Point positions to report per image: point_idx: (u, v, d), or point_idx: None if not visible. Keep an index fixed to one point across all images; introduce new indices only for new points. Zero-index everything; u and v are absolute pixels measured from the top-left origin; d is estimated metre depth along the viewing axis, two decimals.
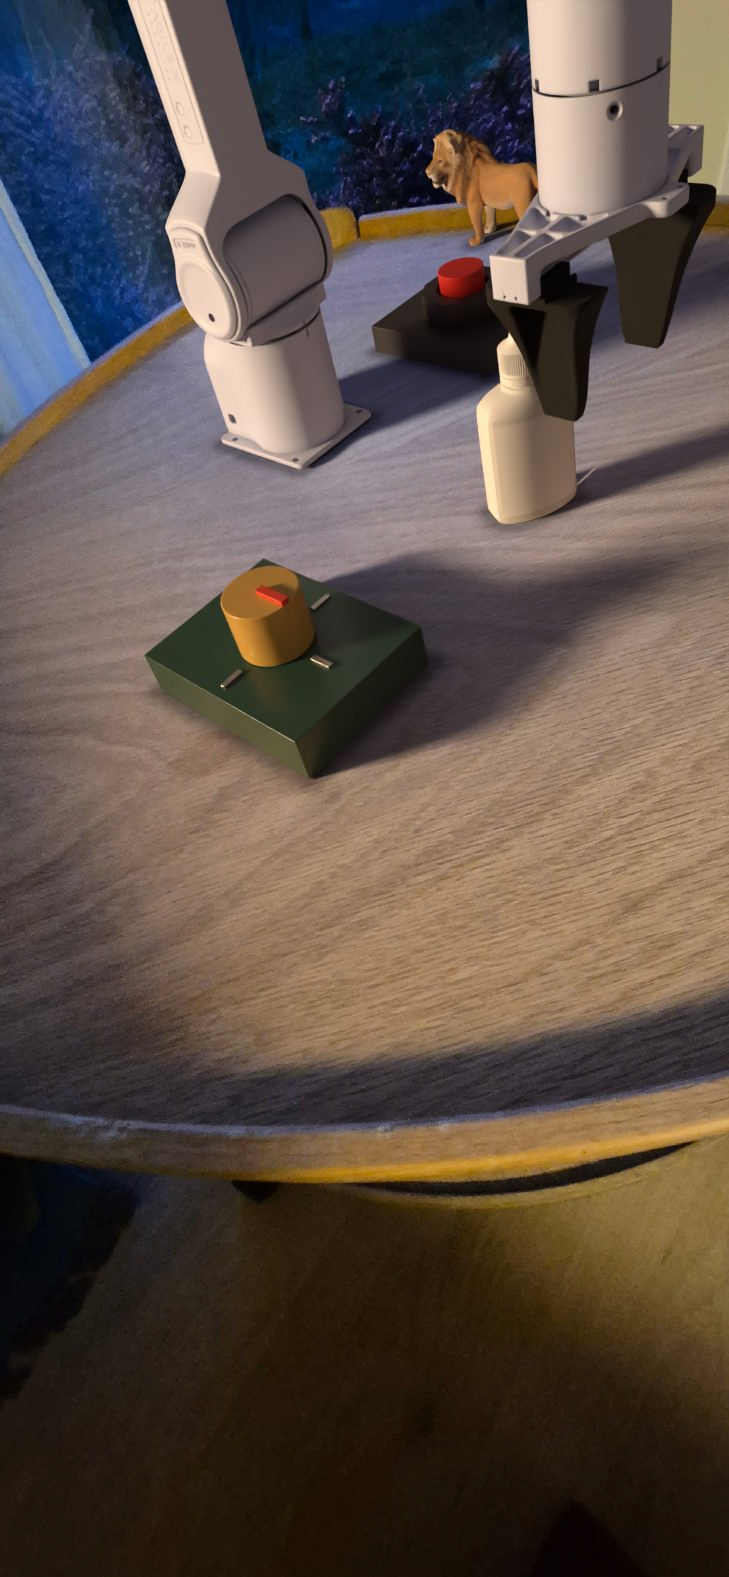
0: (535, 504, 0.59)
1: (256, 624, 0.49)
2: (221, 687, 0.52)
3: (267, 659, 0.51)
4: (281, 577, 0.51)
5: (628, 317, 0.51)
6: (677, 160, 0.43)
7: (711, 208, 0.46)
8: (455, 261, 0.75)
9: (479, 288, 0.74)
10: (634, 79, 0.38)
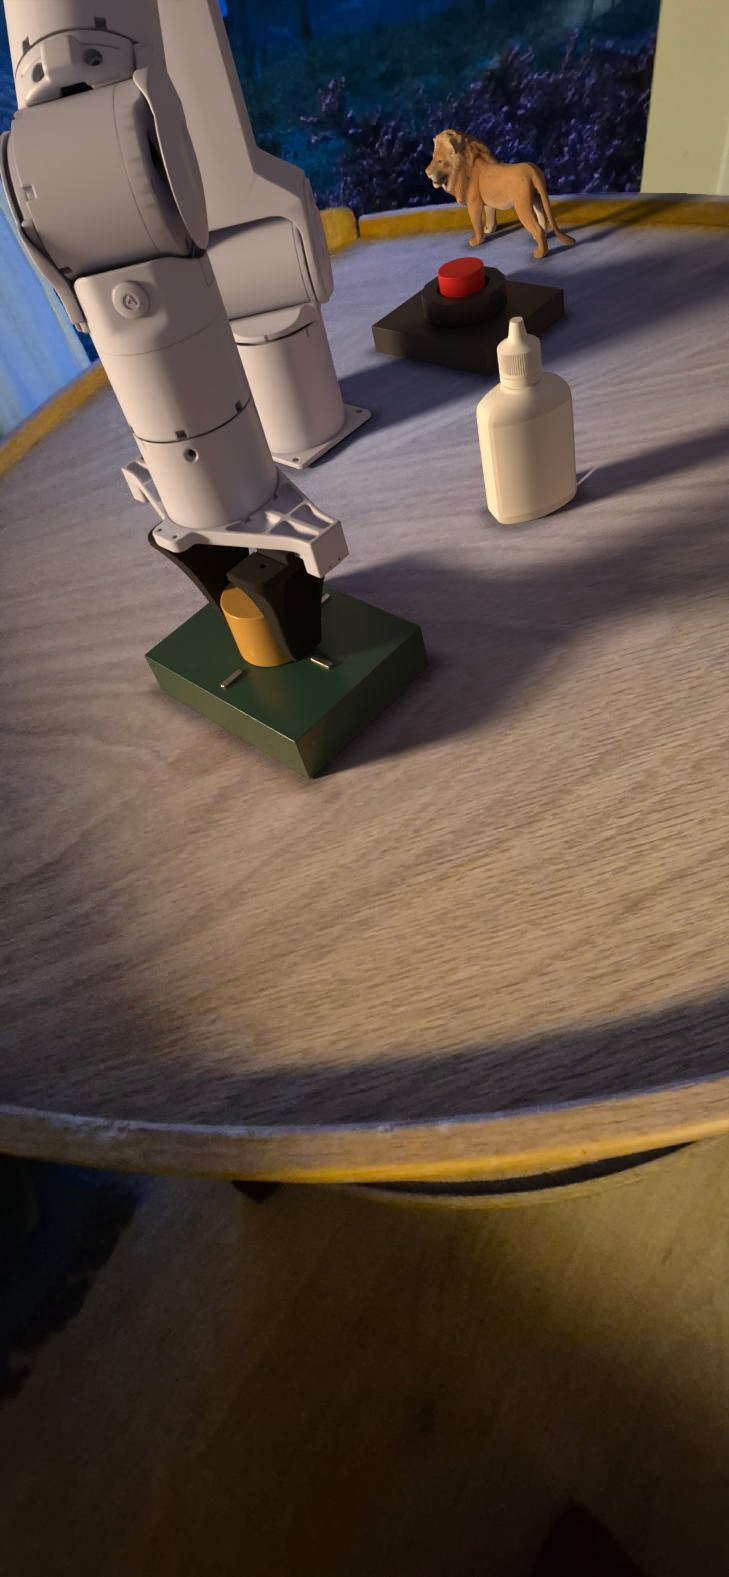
0: (535, 504, 0.59)
1: (256, 624, 0.49)
2: (221, 687, 0.52)
3: (267, 659, 0.51)
4: None
5: None
6: (235, 532, 0.43)
7: (257, 595, 0.45)
8: (455, 261, 0.75)
9: (479, 288, 0.74)
10: (155, 439, 0.41)
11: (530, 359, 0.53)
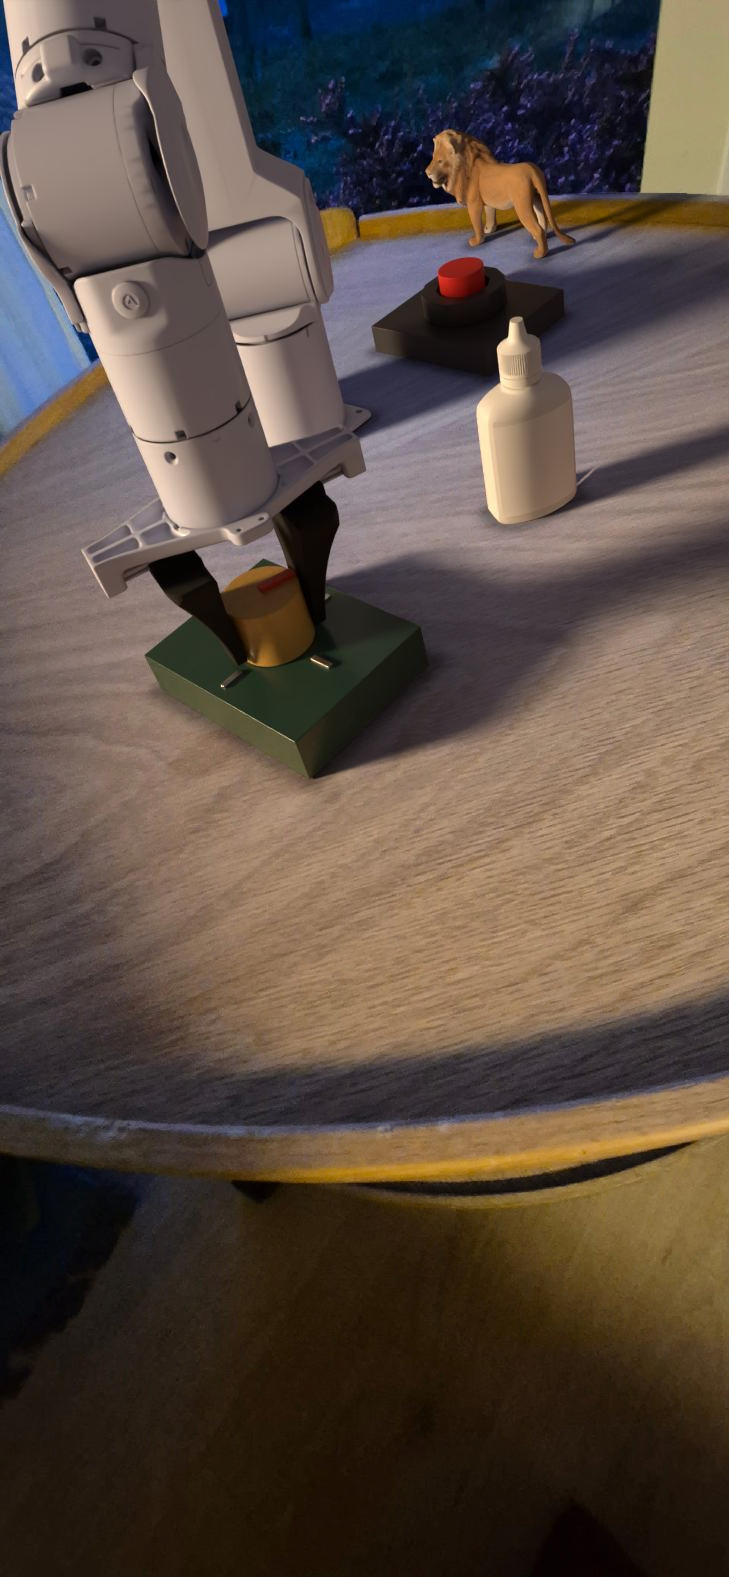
0: (535, 504, 0.59)
1: (297, 601, 0.50)
2: (221, 687, 0.52)
3: (307, 638, 0.52)
4: (254, 576, 0.51)
5: None
6: (295, 480, 0.45)
7: (332, 527, 0.47)
8: (455, 261, 0.75)
9: (479, 288, 0.74)
10: (155, 439, 0.41)
11: (530, 359, 0.53)
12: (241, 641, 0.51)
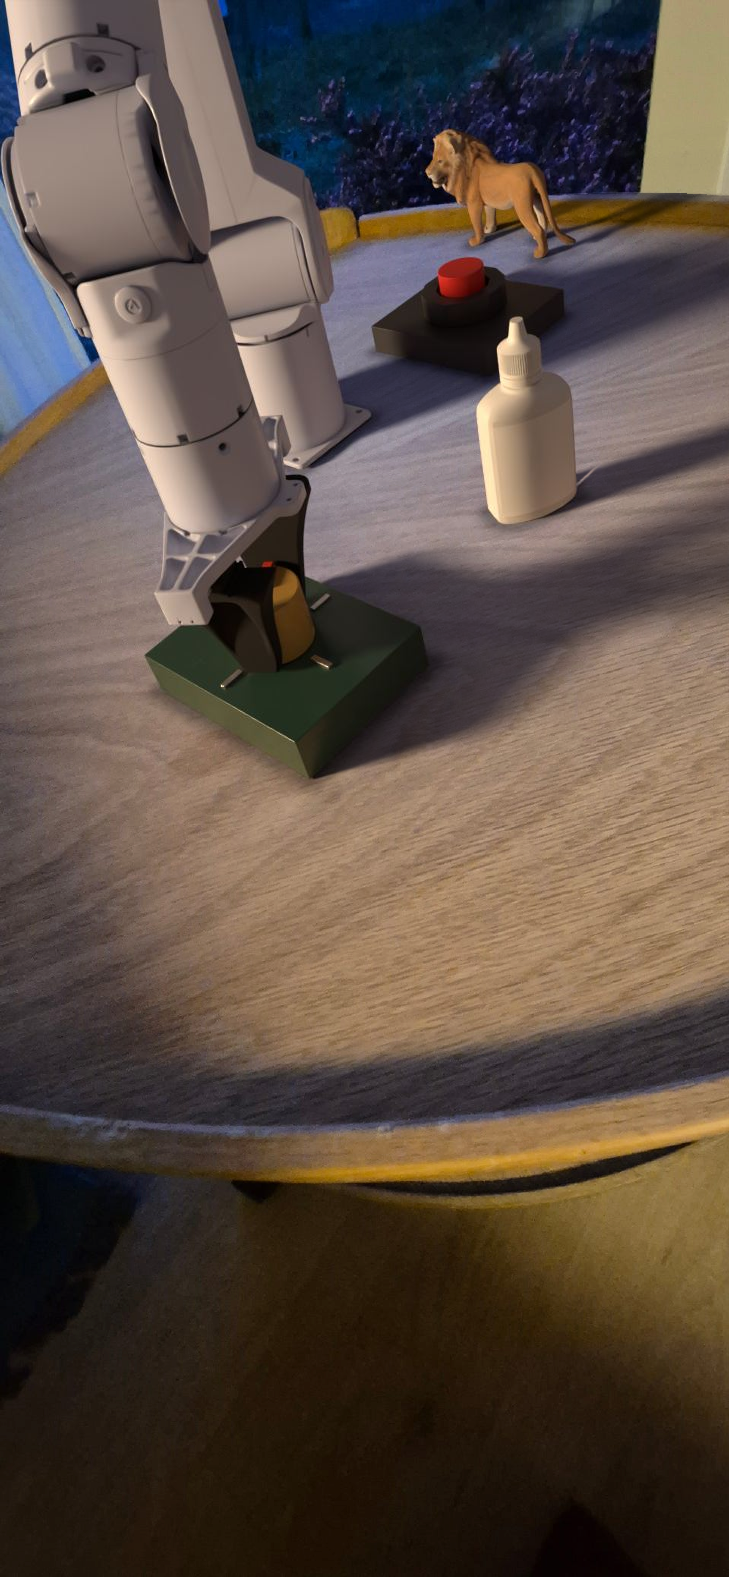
0: (535, 504, 0.59)
1: None
2: (221, 687, 0.52)
3: None
4: None
5: None
6: (278, 456, 0.47)
7: (309, 493, 0.50)
8: (455, 261, 0.75)
9: (479, 288, 0.74)
10: (157, 443, 0.41)
11: (530, 359, 0.53)
12: None
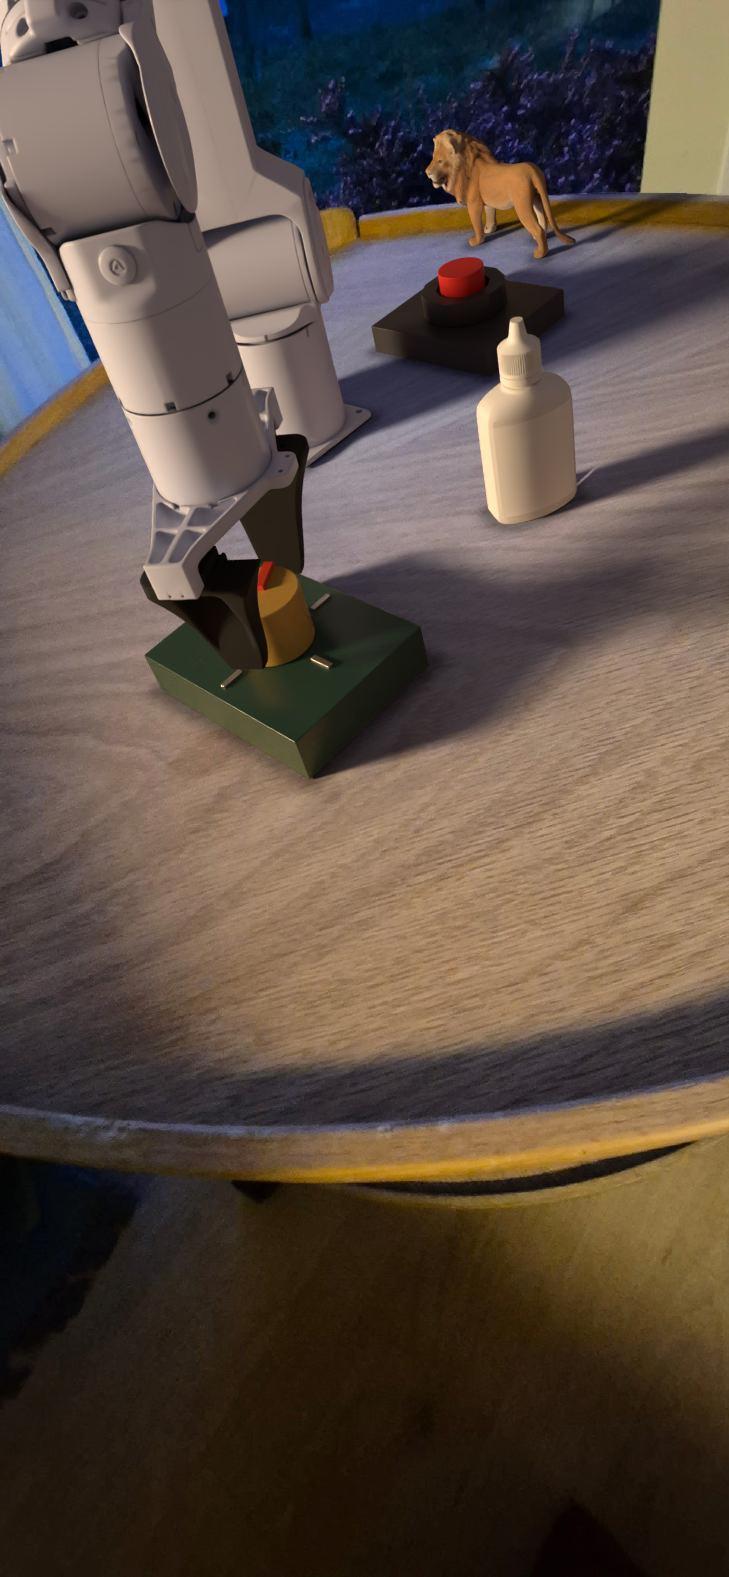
0: (535, 504, 0.59)
1: None
2: (221, 687, 0.52)
3: None
4: None
5: (264, 554, 0.53)
6: (269, 428, 0.46)
7: (307, 453, 0.49)
8: (455, 261, 0.75)
9: (479, 288, 0.74)
10: (144, 412, 0.40)
11: (530, 359, 0.53)
12: (272, 642, 0.50)
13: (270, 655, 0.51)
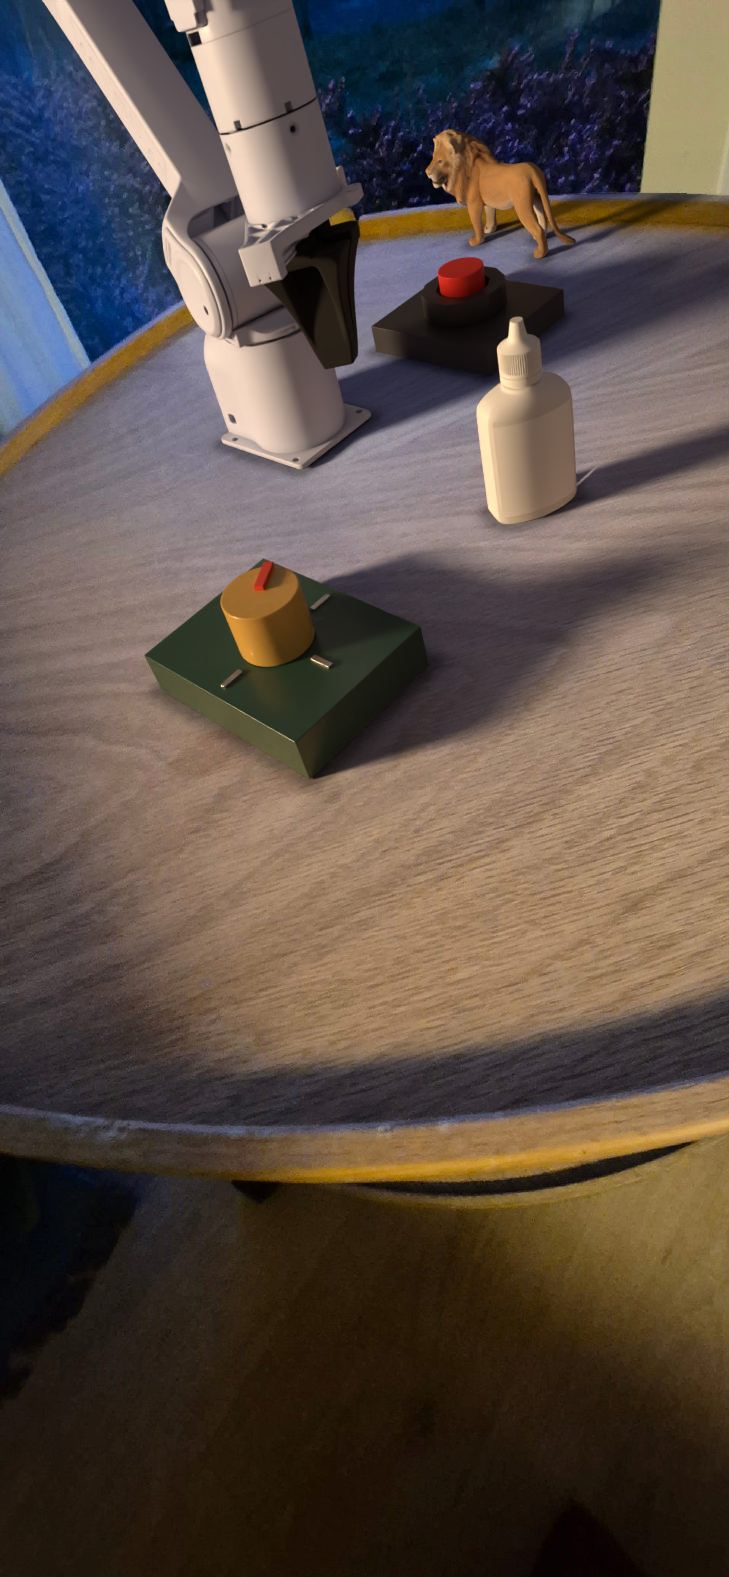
0: (535, 504, 0.59)
1: None
2: (221, 687, 0.52)
3: None
4: (236, 588, 0.51)
5: None
6: (339, 179, 0.56)
7: (357, 236, 0.57)
8: (455, 261, 0.75)
9: (479, 288, 0.74)
10: (266, 119, 0.49)
11: (530, 359, 0.53)
12: (272, 642, 0.50)
13: (270, 655, 0.51)
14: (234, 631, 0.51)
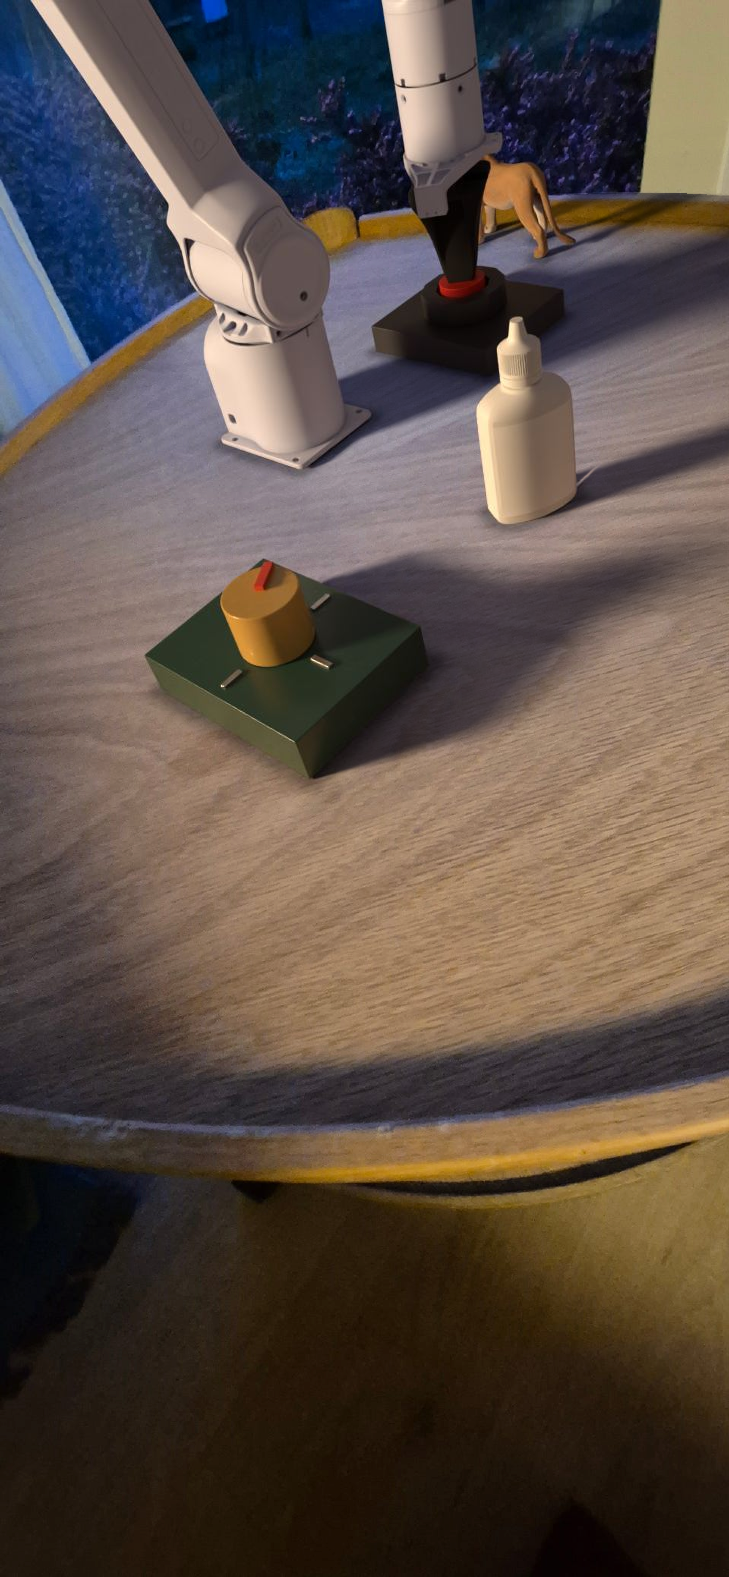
0: (535, 504, 0.59)
1: None
2: (221, 687, 0.52)
3: None
4: (236, 588, 0.51)
5: None
6: None
7: None
8: None
9: None
10: None
11: (530, 359, 0.53)
12: (272, 642, 0.50)
13: (270, 655, 0.51)
14: (234, 631, 0.51)
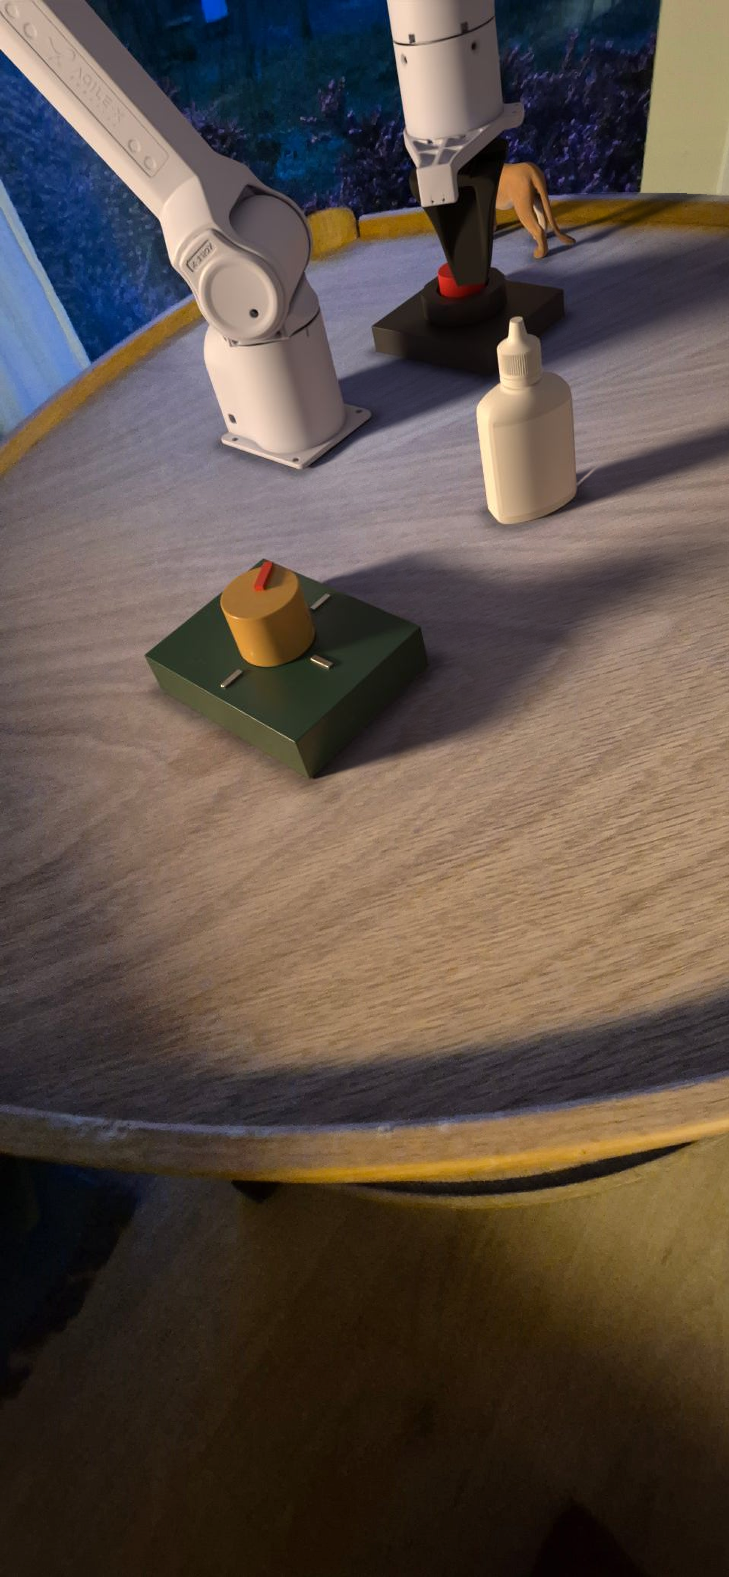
0: (535, 504, 0.59)
1: None
2: (221, 687, 0.52)
3: None
4: (236, 588, 0.51)
5: None
6: None
7: None
8: None
9: (479, 288, 0.74)
10: (487, 19, 0.51)
11: (530, 359, 0.53)
12: (272, 642, 0.50)
13: (270, 655, 0.51)
14: (234, 631, 0.51)
